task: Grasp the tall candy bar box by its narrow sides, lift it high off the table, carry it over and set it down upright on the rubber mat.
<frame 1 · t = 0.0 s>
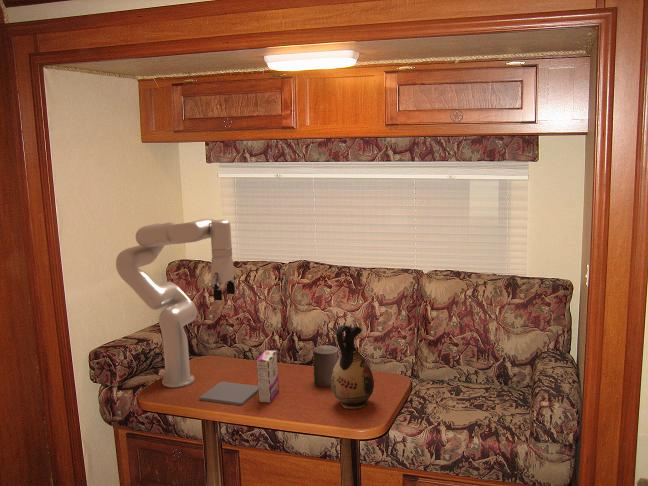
hand: (224, 296, 233), 37 cm above the table, tool pointing down, fingers open, 9 cm apart
ceramic jug: (351, 405, 220), on the table
candy bar box: (269, 397, 230), on the table
rubber mat: (231, 394, 233), on the table
pillar candle: (326, 382, 242), on the table
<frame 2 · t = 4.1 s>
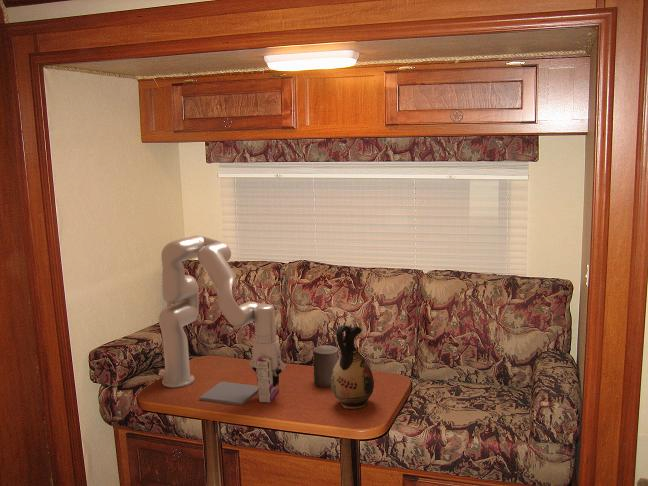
hand: (268, 384, 229), 5 cm above the table, tool pointing down, fingers closed on candy bar box, 5 cm apart
candy bar box: (269, 397, 230), on the table, touching gripper
everything else where it was.
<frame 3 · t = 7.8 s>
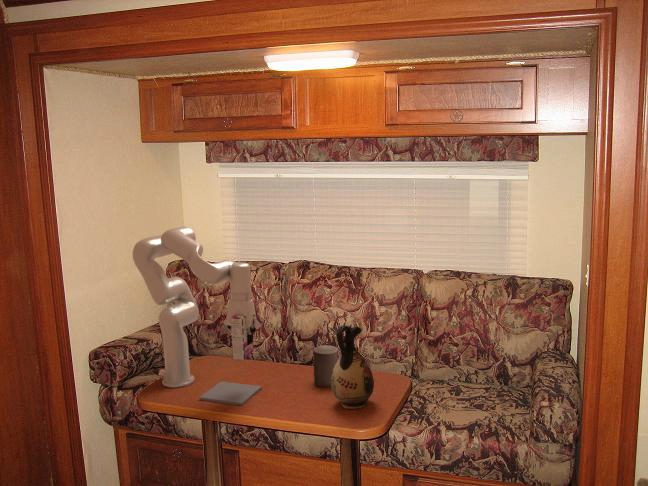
hand: (242, 342, 229), 21 cm above the table, tool pointing down, fingers closed on candy bar box, 5 cm apart
candy bar box: (243, 355, 229), point 15 cm above the table, touching gripper
everything else where it was.
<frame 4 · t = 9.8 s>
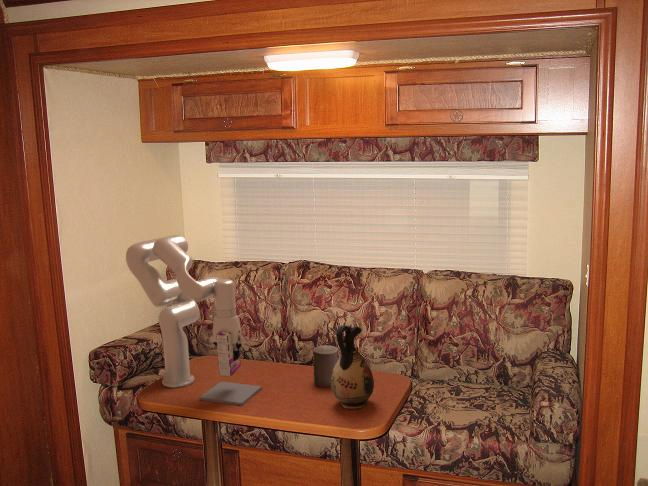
hand: (229, 358, 231), 14 cm above the table, tool pointing down, fingers closed on candy bar box, 5 cm apart
candy bar box: (230, 371, 232), point 9 cm above the table, touching gripper
everything else where it was.
when the fingers open (7 cm above the table, at t = 11.5 s): candy bar box stays where it is, resting on rubber mat.
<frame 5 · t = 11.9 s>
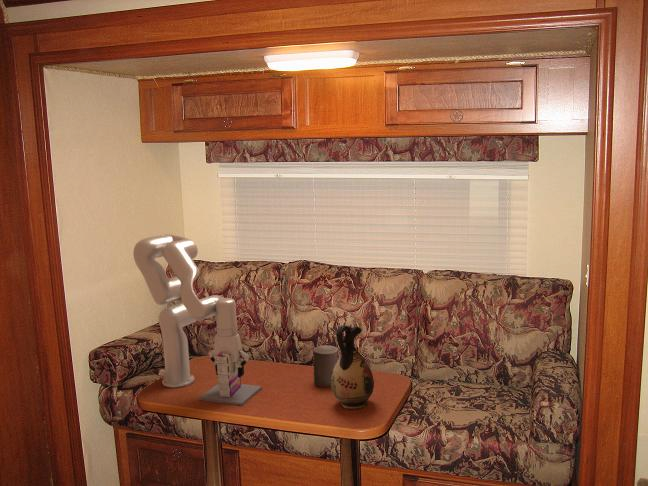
hand: (229, 375, 232), 8 cm above the table, tool pointing down, fingers open, 9 cm apart
candy bar box: (230, 392, 233), point 1 cm above the table, touching rubber mat
everything else where it was.
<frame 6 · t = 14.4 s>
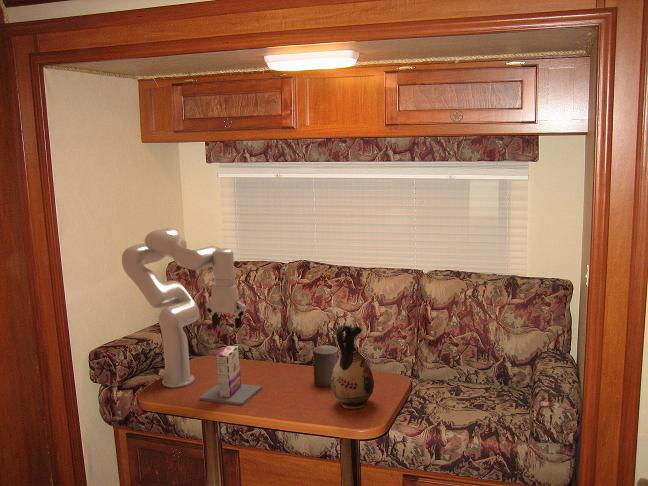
hand: (226, 326, 230), 27 cm above the table, tool pointing down, fingers open, 9 cm apart
nothing on the table moved.
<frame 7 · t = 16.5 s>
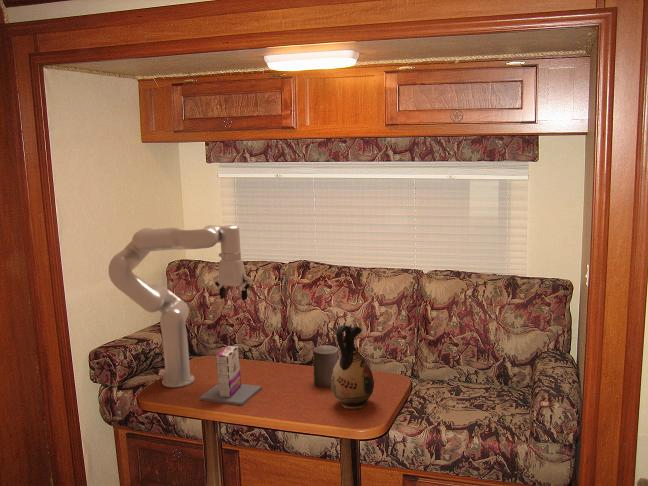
hand: (233, 298, 243), 33 cm above the table, tool pointing down, fingers open, 9 cm apart
nothing on the table moved.
at the end: candy bar box inside the target area on the rubber mat (0.4 cm from its centre), point 0.8 cm above the rubber mat's base; candy bar box tilted 0°; the gripper is holding nothing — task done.
